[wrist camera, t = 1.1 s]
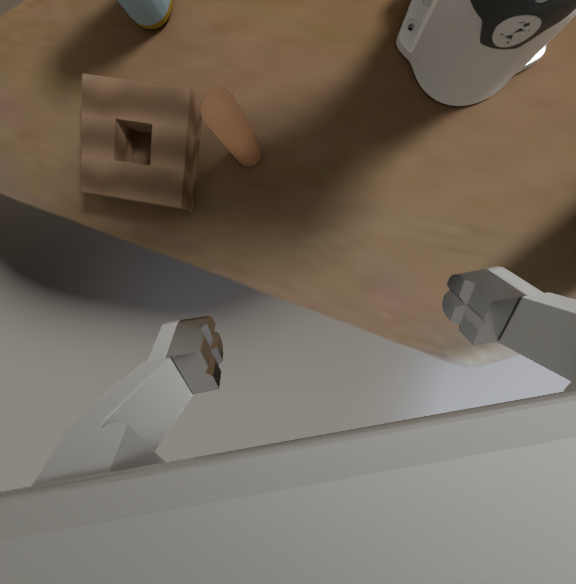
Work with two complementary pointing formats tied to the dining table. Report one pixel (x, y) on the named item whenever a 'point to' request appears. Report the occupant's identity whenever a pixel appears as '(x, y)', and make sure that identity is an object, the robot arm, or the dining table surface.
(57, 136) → the dining table surface
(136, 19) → the bottle
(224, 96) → the peg
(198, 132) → the socket block
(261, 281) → the dining table surface
